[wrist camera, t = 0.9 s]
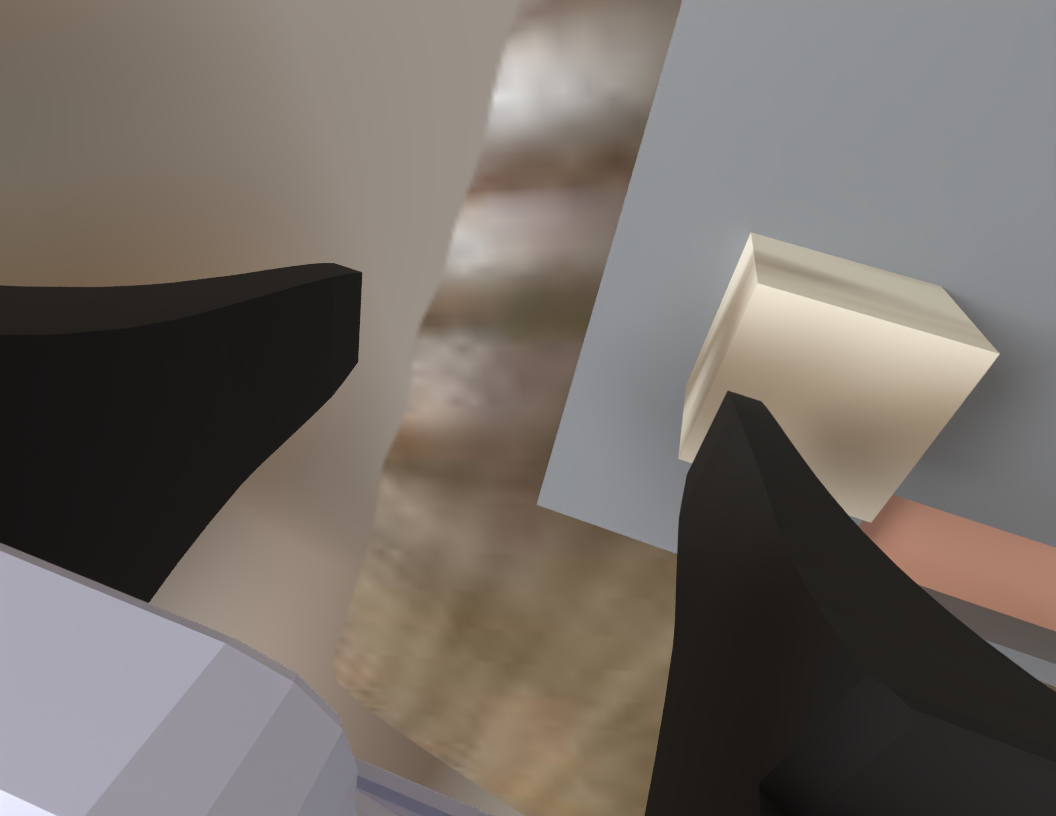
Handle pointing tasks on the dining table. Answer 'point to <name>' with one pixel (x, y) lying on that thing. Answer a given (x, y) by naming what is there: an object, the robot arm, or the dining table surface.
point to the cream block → (837, 365)
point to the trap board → (857, 235)
